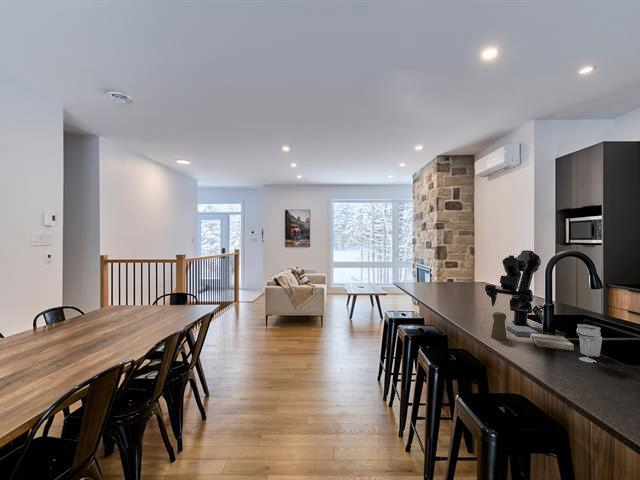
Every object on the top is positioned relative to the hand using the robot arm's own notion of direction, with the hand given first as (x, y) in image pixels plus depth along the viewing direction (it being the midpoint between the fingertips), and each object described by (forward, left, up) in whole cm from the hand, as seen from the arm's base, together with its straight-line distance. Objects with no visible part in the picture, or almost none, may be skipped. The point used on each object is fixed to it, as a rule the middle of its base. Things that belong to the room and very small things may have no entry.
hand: (503, 307), depth 148 cm
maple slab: (+5, +17, -12) cm, 21 cm away
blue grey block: (-7, +9, -13) cm, 17 cm away
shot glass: (+13, +27, -12) cm, 33 cm away
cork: (+5, -2, -12) cm, 14 cm away
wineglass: (+21, +24, -12) cm, 34 cm away
